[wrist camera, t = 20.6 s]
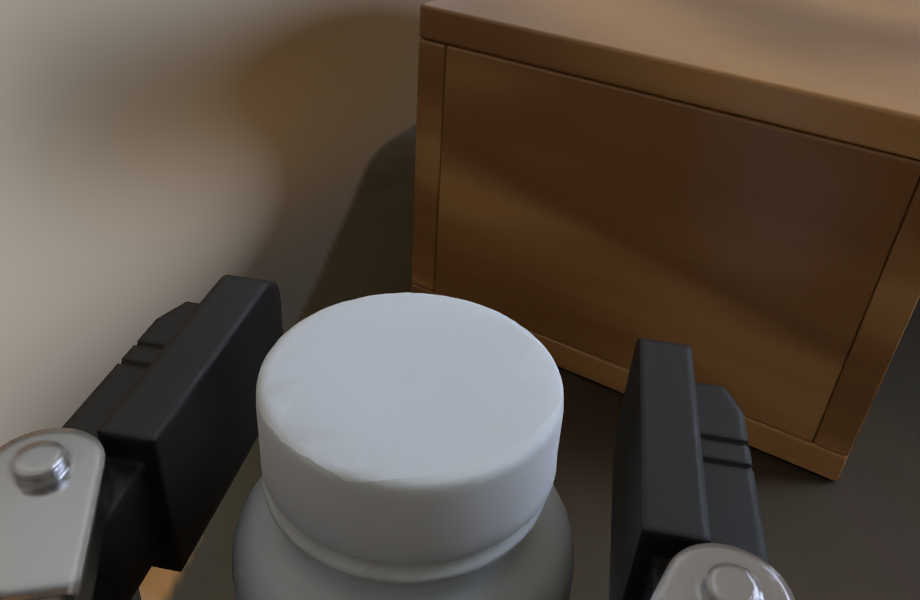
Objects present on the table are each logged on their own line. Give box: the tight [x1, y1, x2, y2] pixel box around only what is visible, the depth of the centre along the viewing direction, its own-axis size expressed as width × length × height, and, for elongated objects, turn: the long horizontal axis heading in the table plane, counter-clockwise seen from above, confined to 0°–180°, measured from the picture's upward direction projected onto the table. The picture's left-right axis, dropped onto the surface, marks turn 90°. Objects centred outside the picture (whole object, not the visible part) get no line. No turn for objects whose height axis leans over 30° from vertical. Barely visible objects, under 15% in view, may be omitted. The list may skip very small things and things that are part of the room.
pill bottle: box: [232, 292, 574, 600], centre depth 11 cm, size 4×4×8 cm
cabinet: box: [411, 0, 920, 481], centre depth 24 cm, size 14×12×9 cm
